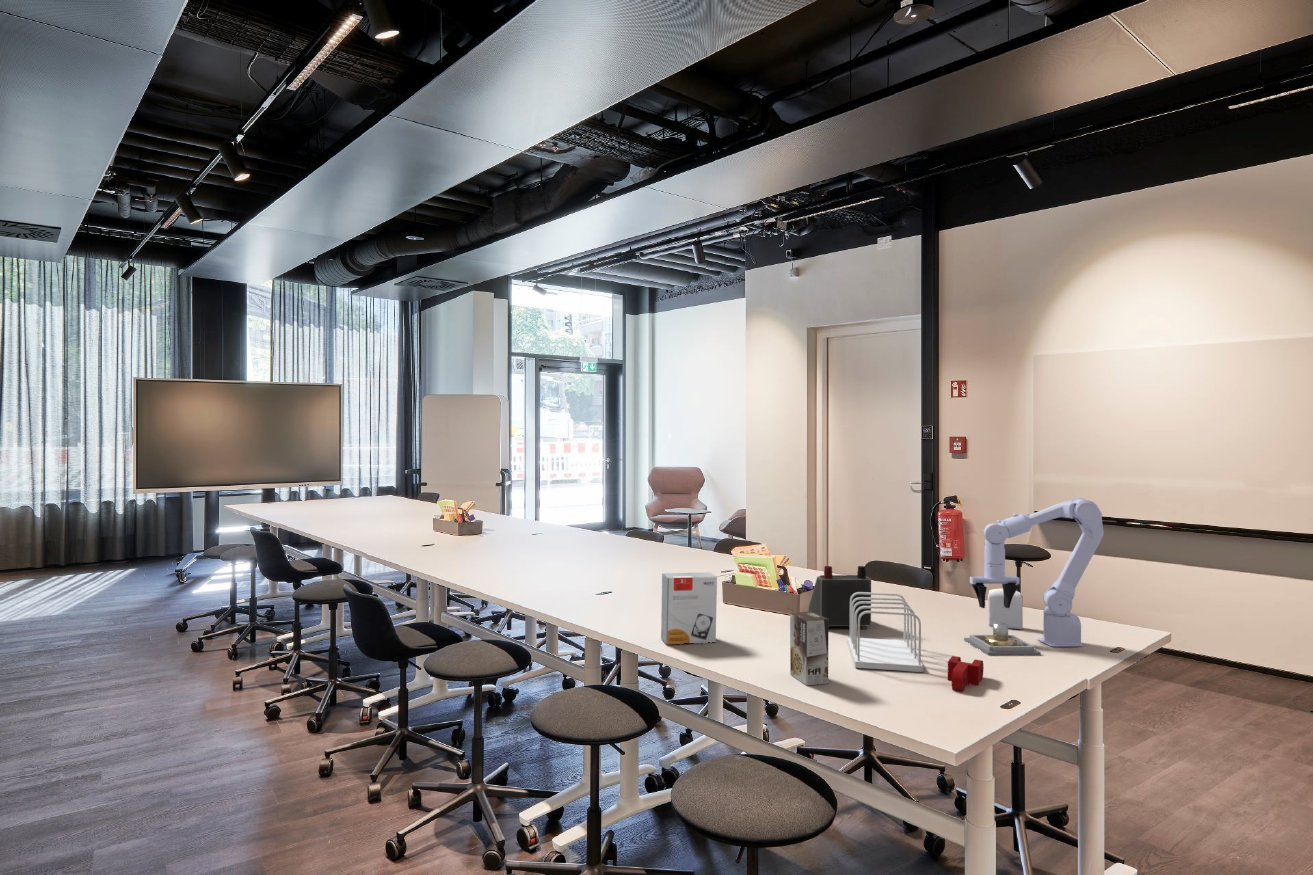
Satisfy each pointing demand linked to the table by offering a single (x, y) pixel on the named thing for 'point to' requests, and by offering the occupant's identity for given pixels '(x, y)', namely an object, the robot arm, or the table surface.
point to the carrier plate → (1021, 649)
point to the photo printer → (1005, 609)
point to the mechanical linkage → (964, 673)
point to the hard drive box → (688, 608)
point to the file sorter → (884, 650)
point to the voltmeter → (840, 597)
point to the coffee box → (809, 647)
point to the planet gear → (1000, 636)
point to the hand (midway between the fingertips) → (994, 607)
